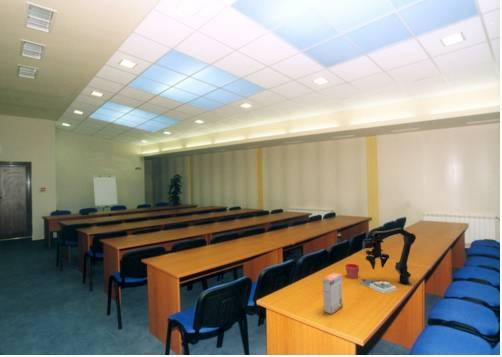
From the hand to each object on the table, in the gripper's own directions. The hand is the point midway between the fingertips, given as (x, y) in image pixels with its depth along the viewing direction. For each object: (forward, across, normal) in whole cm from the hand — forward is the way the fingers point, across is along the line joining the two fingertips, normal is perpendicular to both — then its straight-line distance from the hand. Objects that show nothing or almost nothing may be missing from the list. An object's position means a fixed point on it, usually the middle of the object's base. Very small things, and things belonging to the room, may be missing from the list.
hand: (377, 268), depth 207 cm
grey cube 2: (+12, +8, +8) cm, 16 cm away
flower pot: (+12, +7, -20) cm, 24 cm away
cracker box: (+12, +58, +18) cm, 62 cm away
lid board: (+12, +5, -4) cm, 14 cm away
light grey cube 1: (+12, +4, +10) cm, 16 cm away
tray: (+12, +6, +9) cm, 16 cm away
